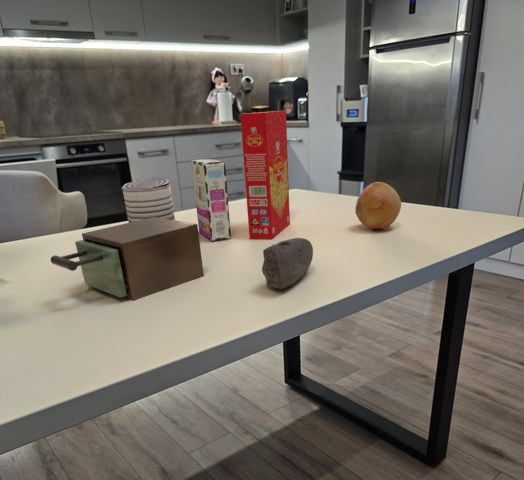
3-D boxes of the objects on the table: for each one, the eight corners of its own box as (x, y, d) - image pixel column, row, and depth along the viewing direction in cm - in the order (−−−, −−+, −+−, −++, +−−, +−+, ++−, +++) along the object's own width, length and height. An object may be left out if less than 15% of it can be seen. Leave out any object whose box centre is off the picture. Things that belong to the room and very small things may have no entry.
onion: (408, 230, 105) (411, 182, 100) (365, 235, 103) (367, 187, 98) (387, 222, 113) (390, 177, 109) (348, 226, 111) (349, 181, 107)
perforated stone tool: (297, 265, 87) (296, 227, 83) (324, 269, 84) (324, 229, 81) (254, 292, 75) (251, 249, 72) (283, 297, 73) (281, 252, 70)
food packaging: (272, 239, 105) (265, 112, 94) (249, 238, 107) (240, 114, 96) (289, 224, 118) (285, 110, 106) (269, 223, 119) (263, 112, 108)
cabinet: (132, 300, 76) (121, 243, 71) (93, 285, 84) (81, 233, 80) (203, 275, 85) (197, 224, 81) (162, 264, 93) (154, 216, 89)
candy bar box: (232, 238, 108) (226, 161, 100) (211, 242, 106) (203, 163, 99) (218, 229, 117) (211, 157, 110) (198, 232, 116) (189, 159, 108)
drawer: (86, 308, 71) (74, 261, 68) (52, 293, 78) (40, 249, 75) (188, 274, 83) (182, 232, 80) (151, 264, 90) (144, 225, 87)
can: (186, 229, 119) (179, 178, 114) (149, 239, 112) (140, 186, 107) (157, 224, 126) (149, 177, 121) (121, 234, 119) (111, 183, 113)
